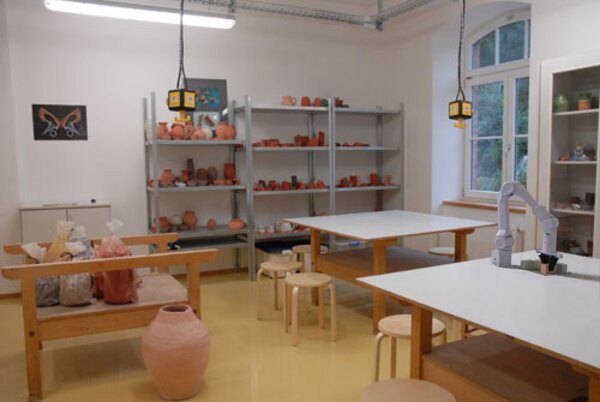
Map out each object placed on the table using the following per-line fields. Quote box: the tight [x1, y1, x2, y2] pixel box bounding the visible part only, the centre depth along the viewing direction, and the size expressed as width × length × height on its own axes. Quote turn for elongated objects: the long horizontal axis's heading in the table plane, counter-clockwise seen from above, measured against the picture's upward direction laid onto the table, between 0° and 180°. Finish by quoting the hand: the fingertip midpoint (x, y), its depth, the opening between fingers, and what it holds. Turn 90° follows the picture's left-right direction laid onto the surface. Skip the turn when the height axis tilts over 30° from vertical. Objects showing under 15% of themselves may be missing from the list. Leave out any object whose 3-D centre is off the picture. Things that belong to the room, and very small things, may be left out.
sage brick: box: [519, 259, 535, 270], centre depth 247 cm, size 6×3×4 cm, turn 108°
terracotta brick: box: [541, 264, 556, 274], centre depth 238 cm, size 6×3×4 cm, turn 108°
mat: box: [519, 267, 571, 277], centre depth 242 cm, size 15×17×1 cm
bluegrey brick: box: [556, 261, 568, 273], centre depth 240 cm, size 6×3×4 cm, turn 18°
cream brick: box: [534, 258, 542, 269], centre depth 248 cm, size 6×3×4 cm, turn 108°
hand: (548, 270), depth 238 cm, fingers open, 3 cm apart
